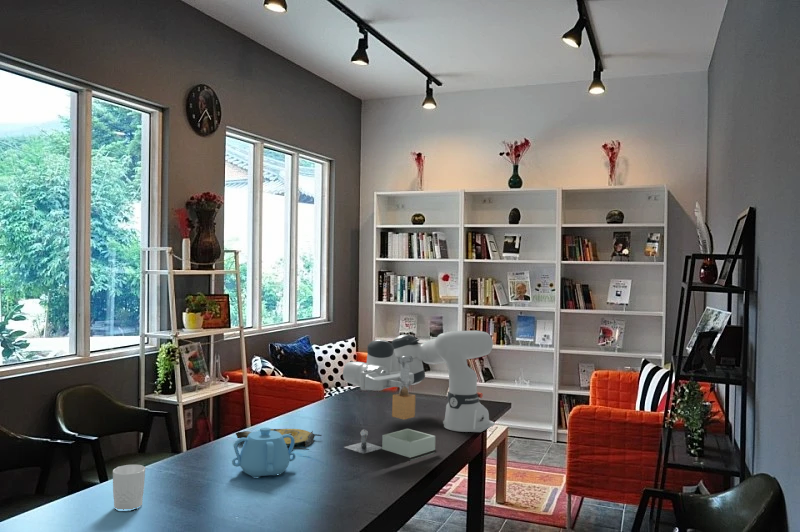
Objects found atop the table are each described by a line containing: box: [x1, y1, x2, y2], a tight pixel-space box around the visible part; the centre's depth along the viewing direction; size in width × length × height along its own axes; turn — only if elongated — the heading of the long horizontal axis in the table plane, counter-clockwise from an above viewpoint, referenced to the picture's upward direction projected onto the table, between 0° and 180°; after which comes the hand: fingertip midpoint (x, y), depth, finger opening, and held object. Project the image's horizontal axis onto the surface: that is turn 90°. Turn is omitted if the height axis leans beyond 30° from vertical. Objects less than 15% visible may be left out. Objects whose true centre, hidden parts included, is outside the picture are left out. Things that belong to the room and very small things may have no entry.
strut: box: [391, 356, 416, 420], centre depth 221 cm, size 6×6×21 cm
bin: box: [381, 428, 436, 462], centre depth 221 cm, size 13×13×6 cm
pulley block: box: [235, 428, 322, 451], centre depth 227 cm, size 14×6×30 cm
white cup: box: [112, 464, 146, 510], centre depth 167 cm, size 8×8×10 cm
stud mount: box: [343, 428, 383, 455], centre depth 222 cm, size 10×10×8 cm
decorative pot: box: [231, 427, 297, 478], centre depth 197 cm, size 16×16×14 cm
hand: (406, 383), depth 220 cm, fingers closed on strut, 3 cm apart
